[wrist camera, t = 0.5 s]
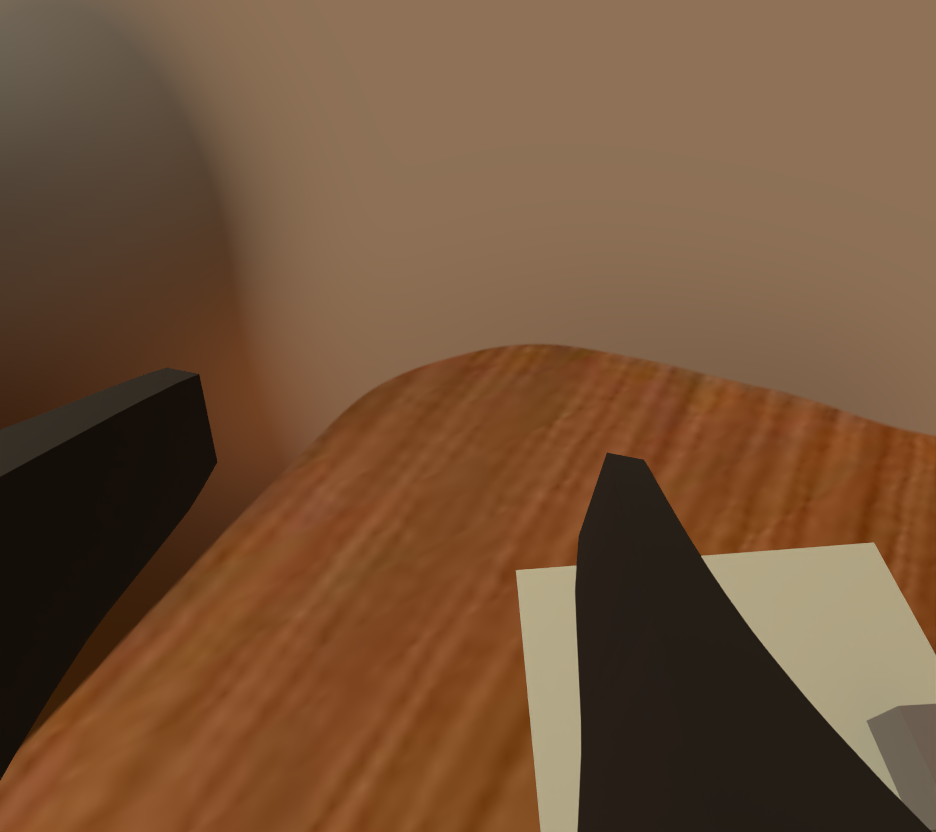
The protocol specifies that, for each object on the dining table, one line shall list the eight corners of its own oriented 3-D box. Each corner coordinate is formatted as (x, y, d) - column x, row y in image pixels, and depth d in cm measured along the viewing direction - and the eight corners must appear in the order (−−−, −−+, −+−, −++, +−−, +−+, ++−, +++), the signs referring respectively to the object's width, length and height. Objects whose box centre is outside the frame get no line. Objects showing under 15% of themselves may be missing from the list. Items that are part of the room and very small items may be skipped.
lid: (1195, 1159, 13) (1323, 1216, 11) (572, 1167, 14) (577, 1221, 12) (867, 549, 23) (900, 515, 21) (516, 576, 24) (513, 546, 22)
